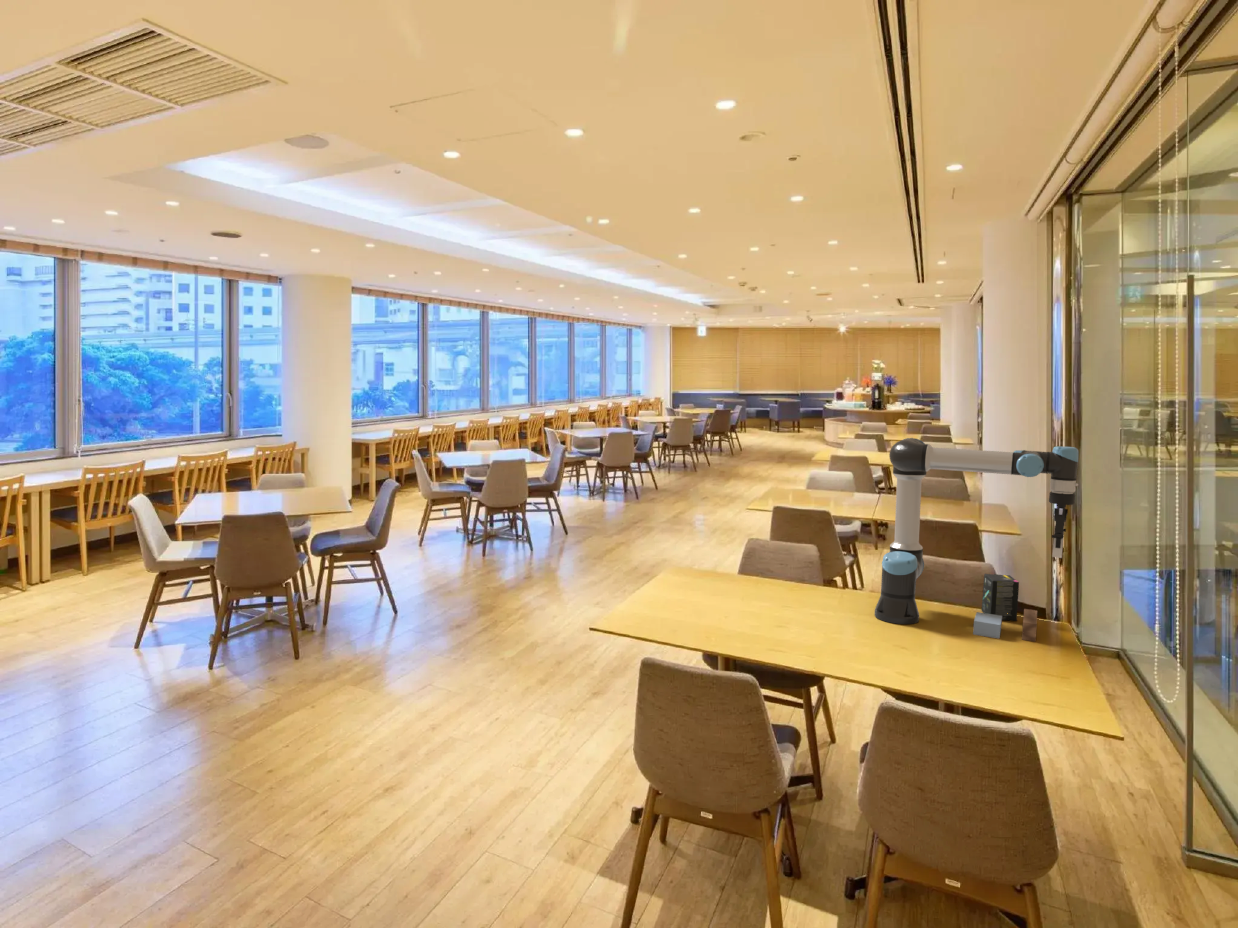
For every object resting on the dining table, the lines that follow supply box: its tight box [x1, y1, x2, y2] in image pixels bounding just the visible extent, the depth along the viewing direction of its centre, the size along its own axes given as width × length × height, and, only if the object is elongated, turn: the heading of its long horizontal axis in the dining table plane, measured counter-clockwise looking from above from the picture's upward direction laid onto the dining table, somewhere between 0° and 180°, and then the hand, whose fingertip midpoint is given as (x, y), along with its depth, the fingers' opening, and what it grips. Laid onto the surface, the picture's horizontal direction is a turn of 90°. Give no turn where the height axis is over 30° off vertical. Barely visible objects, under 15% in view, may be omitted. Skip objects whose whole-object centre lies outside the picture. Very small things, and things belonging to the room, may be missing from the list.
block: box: [972, 611, 1003, 639], centre depth 252 cm, size 8×12×5 cm, turn 150°
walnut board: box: [1021, 608, 1038, 643], centre depth 251 cm, size 4×18×6 cm, turn 150°
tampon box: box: [981, 573, 1020, 622], centre depth 269 cm, size 11×9×15 cm
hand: (1057, 553), depth 250 cm, fingers open, 13 cm apart
